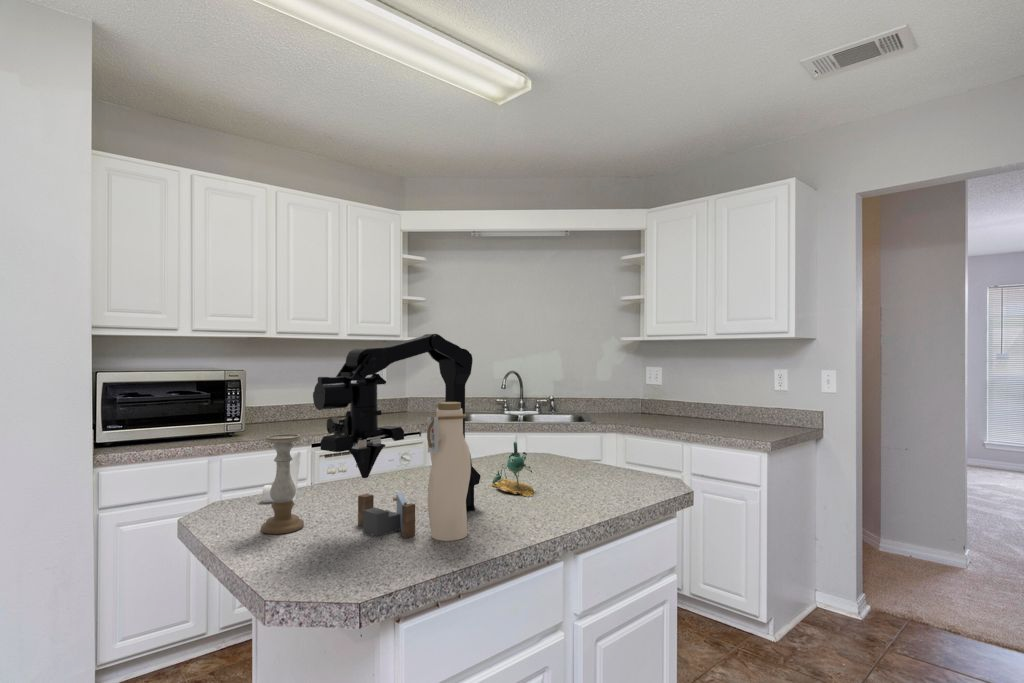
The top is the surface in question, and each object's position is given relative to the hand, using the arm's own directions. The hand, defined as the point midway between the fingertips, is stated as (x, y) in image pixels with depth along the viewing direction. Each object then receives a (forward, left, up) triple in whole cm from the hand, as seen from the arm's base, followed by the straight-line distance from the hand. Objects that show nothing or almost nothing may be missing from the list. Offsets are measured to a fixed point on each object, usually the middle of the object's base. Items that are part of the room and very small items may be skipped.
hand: (364, 477), depth 120 cm
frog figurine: (-38, -31, -12) cm, 50 cm away
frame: (-5, 0, -12) cm, 12 cm away
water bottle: (-18, +6, -12) cm, 22 cm away
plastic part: (+25, -32, -12) cm, 42 cm away
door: (-7, -2, -11) cm, 14 cm away
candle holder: (+18, -5, -12) cm, 22 cm away
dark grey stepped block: (-4, 0, -12) cm, 12 cm away
